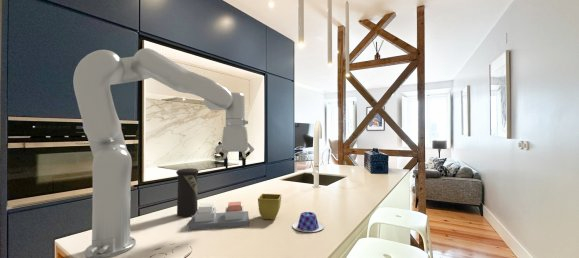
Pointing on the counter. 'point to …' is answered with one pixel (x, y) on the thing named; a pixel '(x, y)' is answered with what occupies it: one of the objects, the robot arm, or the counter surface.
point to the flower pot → (269, 205)
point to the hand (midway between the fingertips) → (234, 167)
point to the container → (187, 192)
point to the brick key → (234, 206)
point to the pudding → (308, 222)
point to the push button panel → (219, 219)
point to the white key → (205, 208)
